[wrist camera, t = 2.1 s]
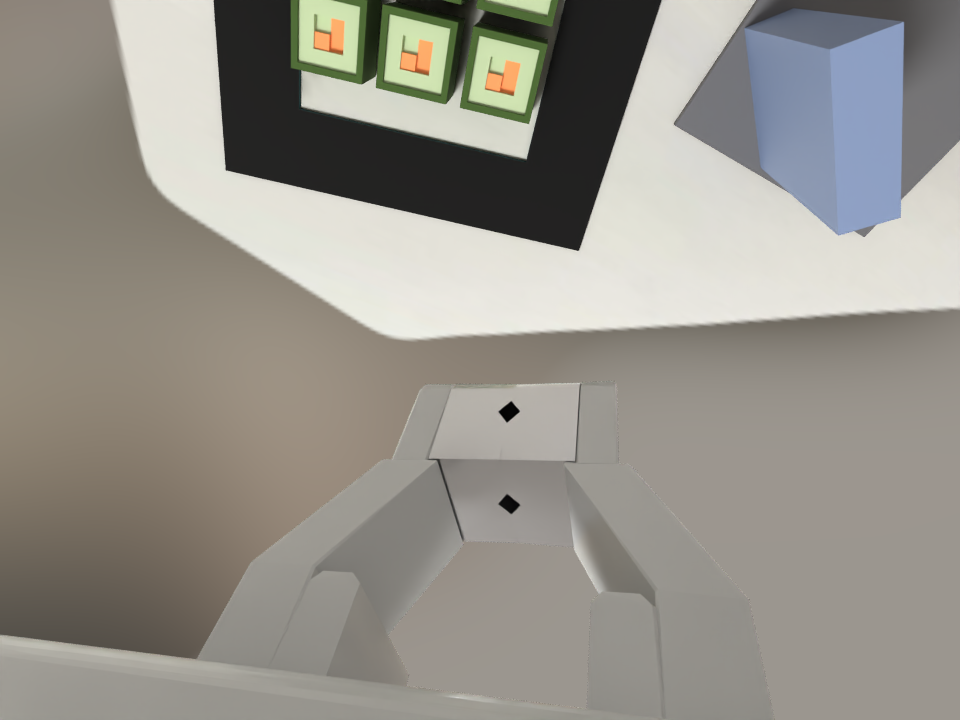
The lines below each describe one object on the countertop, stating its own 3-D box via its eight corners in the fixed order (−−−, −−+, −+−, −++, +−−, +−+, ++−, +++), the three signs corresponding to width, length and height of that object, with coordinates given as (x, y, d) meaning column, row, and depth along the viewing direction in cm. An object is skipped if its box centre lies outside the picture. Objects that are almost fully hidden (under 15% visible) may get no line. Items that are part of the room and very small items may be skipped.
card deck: (760, 167, 34) (838, 235, 25) (744, 28, 30) (829, 49, 21) (807, 152, 33) (904, 216, 24) (796, 7, 29) (908, 20, 20)
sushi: (742, -258, 25) (770, -290, 22) (577, 245, 39) (580, 268, 36) (194, -403, 24) (144, -458, 21) (231, 166, 38) (205, 182, 35)
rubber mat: (897, -212, 25) (902, -214, 24) (1122, -32, 28) (1129, -32, 27) (673, 123, 34) (675, 125, 33) (861, 234, 36) (864, 237, 36)
